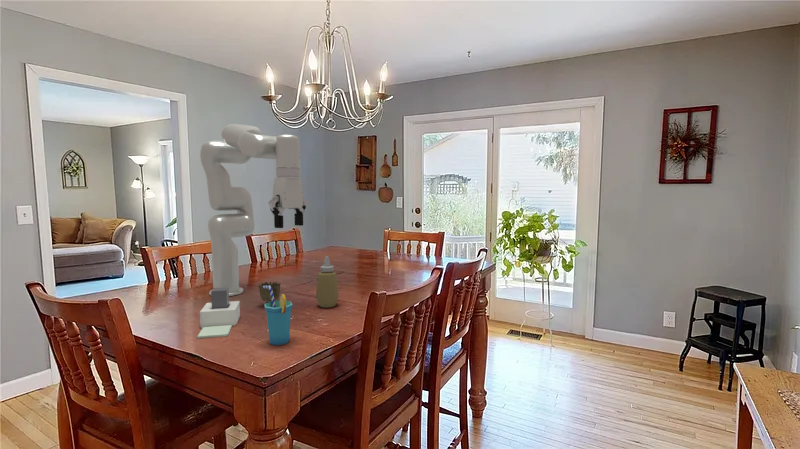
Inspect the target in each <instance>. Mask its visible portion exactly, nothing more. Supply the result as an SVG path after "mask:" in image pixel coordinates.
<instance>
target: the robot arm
mask: <svg viewBox="0 0 800 449" xmlns="http://www.w3.org/2000/svg"><path fill="white" fill-rule="evenodd" d="M221 138H222V139H223V140H218V139H217V140H209V141H205V142H204V143H203V144H202V145H201V147H200V151H199V152H200V154H199V156H200V157H199V158H200V162H201V166H202V169H203V171H204V173H205V176H206V184H207V185H206V187H207V193H208V200H209V206H210V207H211V209H212V210H213V211H218V212H225V211H226V212H228V211H236V213H222V214H216V215H213V216H211V217H210V219H209V220H208V223H207V229H208V232H209V238H210V244H211V245H210V247H211V264H212V285H213V286H212V288H221V287H229V297H233V296H237V295H241V294H242V293H244V287H241V286H240V283H239V282H240V279H239V277H240V276H239V251H238V246H237V245H236V243H235V242H234V240H233V238H242V237H249V236H251V235H252V234H253V233H254V231H255V218H254V217H255V216H254V209H253V207H254V206H253V201H252V196H251V193H250V191H249V190H248V189H247V188H246V187H243V186H232V183H231V176H230V173H229V172H228V170H227V169H226V168H225V167H224V165H222V164H235V165H236V164H237V165H240V164H246V163H248V162H249V161H250V160H251V159H252V158H253V159H254V158H255V159H266V160H267V159H268V160H275V173H276V175H275V177H274V180H273V185H272V198H271V200H269V201H268V203H267V204H268V207H269V208H270V212H271V214H272V216H273V223H274V224H273V225H274V228H275V229H284V215H282V214H283V213H284V211H285V210H294V212H295V213H294V225H295V226H300V227H301V226H302V227H303V226H304V214H305V210H306V208H307V203H308V200H307V199H306V198H304V194H303V185H302V180H301V160H300V159H301V156H300V155H301V152H300V151H301V149H300V148H301V147H300V138H299V137H298V136H297V135H293V134H280V135H277V136H275V135H274V136H273V135H266V134H263V132H262V130H261V129H260V128H259V127H257V126H256V125H250V124H249V125H248V124H241V123H230V124H227V125H225V126H224V127H223V128H222V130H221ZM212 290H213V289H211V290H209V291H208V293H209V296H211V291H212Z"/></svg>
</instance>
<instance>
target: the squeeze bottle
mask: <svg viewBox="0 0 800 449" xmlns="http://www.w3.org/2000/svg"><path fill="white" fill-rule="evenodd" d="M334 270H335V268H334V265H331V260H330V256H329V255H325V257H324V261H323V265H321V266H320V272H318V274H317V279H316V280H317V282H316V294H315V298H316V300H317V304H318V306H319V307H320V308H326V309H327V308H333V307H336V305H337V302H338V299H339V296H340V295H339V287H338V275H337V273H336V271H334Z"/></svg>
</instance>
